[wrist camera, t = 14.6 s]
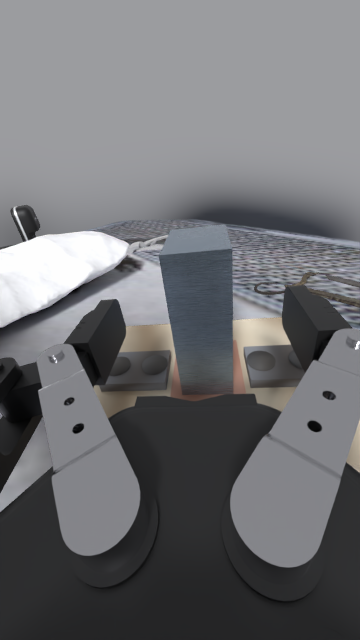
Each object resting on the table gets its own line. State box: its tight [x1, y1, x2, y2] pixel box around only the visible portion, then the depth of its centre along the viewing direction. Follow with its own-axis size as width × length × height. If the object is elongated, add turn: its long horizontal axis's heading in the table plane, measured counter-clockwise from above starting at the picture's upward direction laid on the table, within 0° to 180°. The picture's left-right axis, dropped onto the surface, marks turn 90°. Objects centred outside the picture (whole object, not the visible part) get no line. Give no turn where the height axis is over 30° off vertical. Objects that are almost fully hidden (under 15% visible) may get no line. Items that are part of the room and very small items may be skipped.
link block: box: [159, 225, 233, 395], centre depth 17 cm, size 4×5×10 cm
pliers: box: [127, 235, 168, 254], centre depth 56 cm, size 10×2×15 cm
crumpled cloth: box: [0, 231, 129, 328], centre depth 37 cm, size 24×35×9 cm
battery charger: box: [11, 205, 40, 242], centre depth 57 cm, size 7×4×11 cm, turn 21°
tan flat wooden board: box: [93, 317, 360, 473], centre depth 20 cm, size 18×14×2 cm
